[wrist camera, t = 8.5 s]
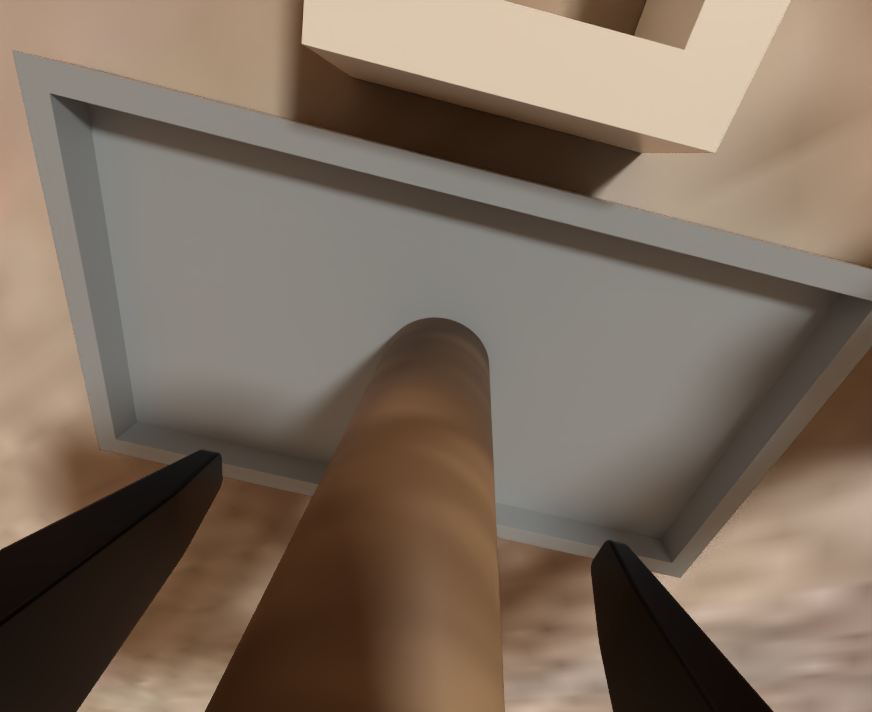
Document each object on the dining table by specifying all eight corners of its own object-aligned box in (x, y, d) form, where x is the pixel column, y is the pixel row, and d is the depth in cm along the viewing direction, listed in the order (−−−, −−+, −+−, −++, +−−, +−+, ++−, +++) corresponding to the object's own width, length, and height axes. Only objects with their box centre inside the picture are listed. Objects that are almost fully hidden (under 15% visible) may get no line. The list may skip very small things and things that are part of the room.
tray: (868, 267, 13) (923, 283, 11) (662, 542, 19) (680, 577, 18) (72, 63, 12) (12, 50, 11) (131, 423, 18) (99, 449, 17)
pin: (502, 332, 14) (571, 843, 4) (473, 420, 16) (460, 937, 5) (394, 305, 14) (135, 741, 4) (377, 396, 16) (170, 869, 5)
